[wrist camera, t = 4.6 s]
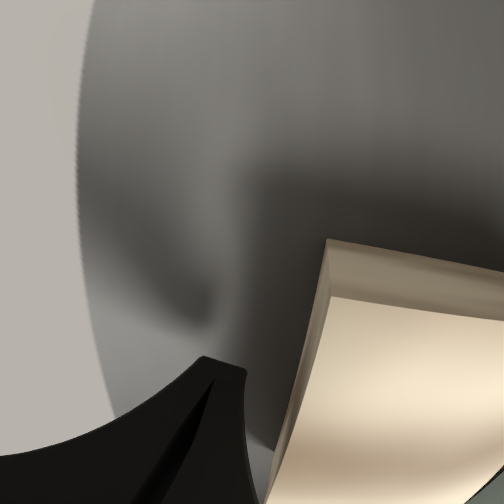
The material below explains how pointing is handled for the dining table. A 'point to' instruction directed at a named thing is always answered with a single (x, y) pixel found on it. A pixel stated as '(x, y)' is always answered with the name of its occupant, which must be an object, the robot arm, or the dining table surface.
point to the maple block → (395, 383)
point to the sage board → (491, 493)
